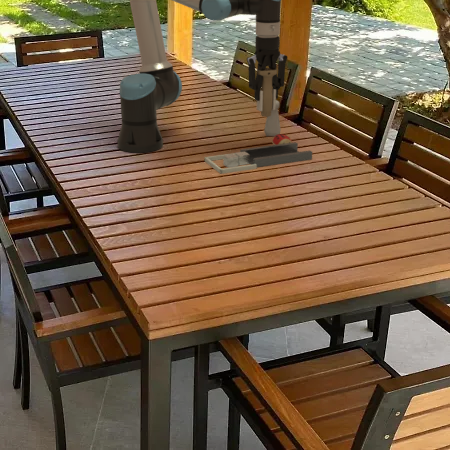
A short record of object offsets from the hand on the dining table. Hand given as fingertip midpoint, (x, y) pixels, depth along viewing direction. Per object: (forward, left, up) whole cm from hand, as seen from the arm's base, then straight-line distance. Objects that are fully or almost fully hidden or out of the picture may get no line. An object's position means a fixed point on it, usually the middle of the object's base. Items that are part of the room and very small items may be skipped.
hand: (266, 109), depth 232 cm
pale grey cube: (-17, -10, -14) cm, 24 cm away
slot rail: (-1, -10, -14) cm, 18 cm away
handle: (0, 0, -2) cm, 2 cm away
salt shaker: (+10, +14, -15) cm, 23 cm away
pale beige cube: (-13, -10, -14) cm, 21 cm away
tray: (-17, -10, -14) cm, 24 cm away
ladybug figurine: (+8, +4, -15) cm, 17 cm away
